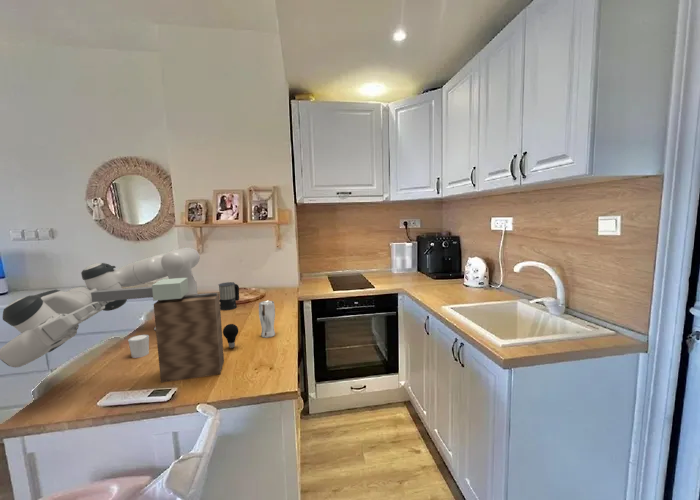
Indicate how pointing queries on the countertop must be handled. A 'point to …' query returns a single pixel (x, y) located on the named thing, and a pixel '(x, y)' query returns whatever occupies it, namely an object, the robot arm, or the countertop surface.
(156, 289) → the grey mallet
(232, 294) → the milk frother
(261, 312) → the beer glass
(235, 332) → the light bulb
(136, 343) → the white short cylinder
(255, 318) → the countertop surface
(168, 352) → the walnut stand
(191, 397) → the countertop surface
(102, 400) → the countertop surface
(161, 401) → the countertop surface
